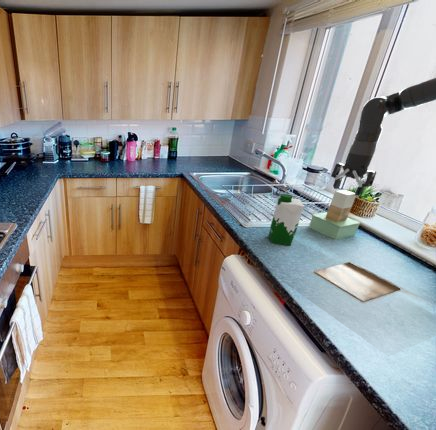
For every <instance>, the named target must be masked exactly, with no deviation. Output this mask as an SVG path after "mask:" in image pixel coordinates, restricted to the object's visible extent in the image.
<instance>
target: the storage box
mask: <svg viewBox="0 0 436 430" xmlns="http://www.w3.org/2000/svg"><path fill="white" fill-rule="evenodd" d="M327 212H328V211H325V212H324V211H323V212H318V213H313V214H311V219H310V223H309V225H308V228H310V229H311V230H314V231H316V232H318V233H320V234H322V235H324V236H326V237H329V238H331V239H332V240H334V241H336V240H341V239H344V238H350V237H355V235H356V234H357V231H358V229H359V226H360V225H361V224H362V222H361V221H359V220H356V219H353V218H350V217H349V216H348V217H347V220H344V221H339V222H337V221H334V220H332V219H329V218H327V217H326V215H327Z"/></svg>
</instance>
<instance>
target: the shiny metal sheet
mask: <svg viewBox="0 0 436 430" xmlns="http://www.w3.org/2000/svg"><path fill="white" fill-rule="evenodd" d="M313 273H315V274H316V275H318V276H320V277H321V278H323V279H325V280H326V281H328V282H329V283H331V284H333V285H334V286H336V287H338V288H340V289H341V290H343V292H346V293H348V294H349V295H351V296H352V297H354V298H356V299H357V300H359V301H361V302H362V303H364V302H367V301H370V300H373V299H376V298H380V297H383V296H385V295H388V294H393V293H395V292H398V291H400V290H401V288H400V287H398V286H396V285H394V284H392V283H390V282H388V281H387V280H385V279H382V278H381V277H379V276H377V275H375V274H373V273H371V272H369V271H367V270H365V269H363V268H361V267H360V266H358V265H355V264H353V263H352V262H350V261H349V262H344V263H341V264H336V265H333V266H328V267H326V268H321V269H318V270H314V271H313Z"/></svg>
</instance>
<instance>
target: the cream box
mask: <svg viewBox="0 0 436 430" xmlns="http://www.w3.org/2000/svg"><path fill="white" fill-rule="evenodd" d="M355 193H356V192H353V191H349V190H346V189H342V190H341V189H340V190H339V189H338V190H335V191H334V193H333V196H332V199H331V201H330V204H331V205H334V206H336V207H339V208H342V209H343V208H349V207H351V208H352V207H353V204H354V202H355V200H356V197H357V196H356V195H355Z"/></svg>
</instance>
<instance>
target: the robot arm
mask: <svg viewBox="0 0 436 430" xmlns="http://www.w3.org/2000/svg"><path fill="white" fill-rule="evenodd" d="M435 101H436V77H433V78H431V79H428V80H425V81H422V82H419V83H416V84H412V85H410V86H407V87H405V88H403V89H402V90H401V91H398V92H397V91H396V92H394V93H392V94H388V95H385V96H376V97H373V98H371V99H369V100H368V101H367V102H366V103H365V104H364V105H363V108H362V109H361V112H360V118H359V125H358V129H357V131H356V134H355V137H354V139H353V141H352V144H351V145H350V148H349V150H348V153H347V156H346V159H345V163H342V162H338V163H336V164H335V165H334V168H333V171H332V172H331V176H330V177H331V178H334V181H333V185H332V187H333V189H335V190H339V188H340V185H341V182H342V179H345V177H346V178H350V179H353V180H355V181H356V182H357V185H358V186H357V187H356V191H355V192H354V193H355V195H356V197H358V196H361V195H362V194H363V193H364V190H365V188H368V187H372V186H373V184H374V181H375V178H376V175H377V171H376V170H368V168H369V167H370V165H371V162H372V159H373V157H374V154H375V153H376V149H377V146H378V143H379V140H380V138H381V135H382V132H383V127H382V124H383V120H384V118H385V117H387V116H390V115H393V114H396V113H399V112H402V111H404V110H407V109H411V108H417V107H419V106H422V105H426V104H429V103H432V102H435ZM341 170H343V171H342V172H341ZM365 176H366V177H365Z"/></svg>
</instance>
